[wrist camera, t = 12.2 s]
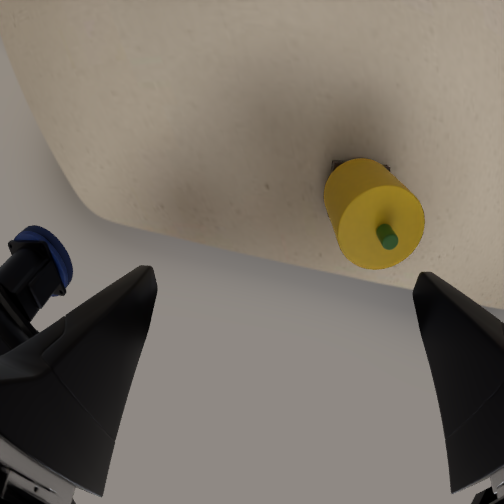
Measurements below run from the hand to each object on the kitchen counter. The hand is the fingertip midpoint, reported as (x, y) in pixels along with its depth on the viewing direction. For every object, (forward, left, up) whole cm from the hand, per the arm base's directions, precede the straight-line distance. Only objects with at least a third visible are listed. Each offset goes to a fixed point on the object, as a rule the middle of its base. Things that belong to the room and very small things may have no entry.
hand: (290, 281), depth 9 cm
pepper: (+5, -1, -11) cm, 12 cm away
